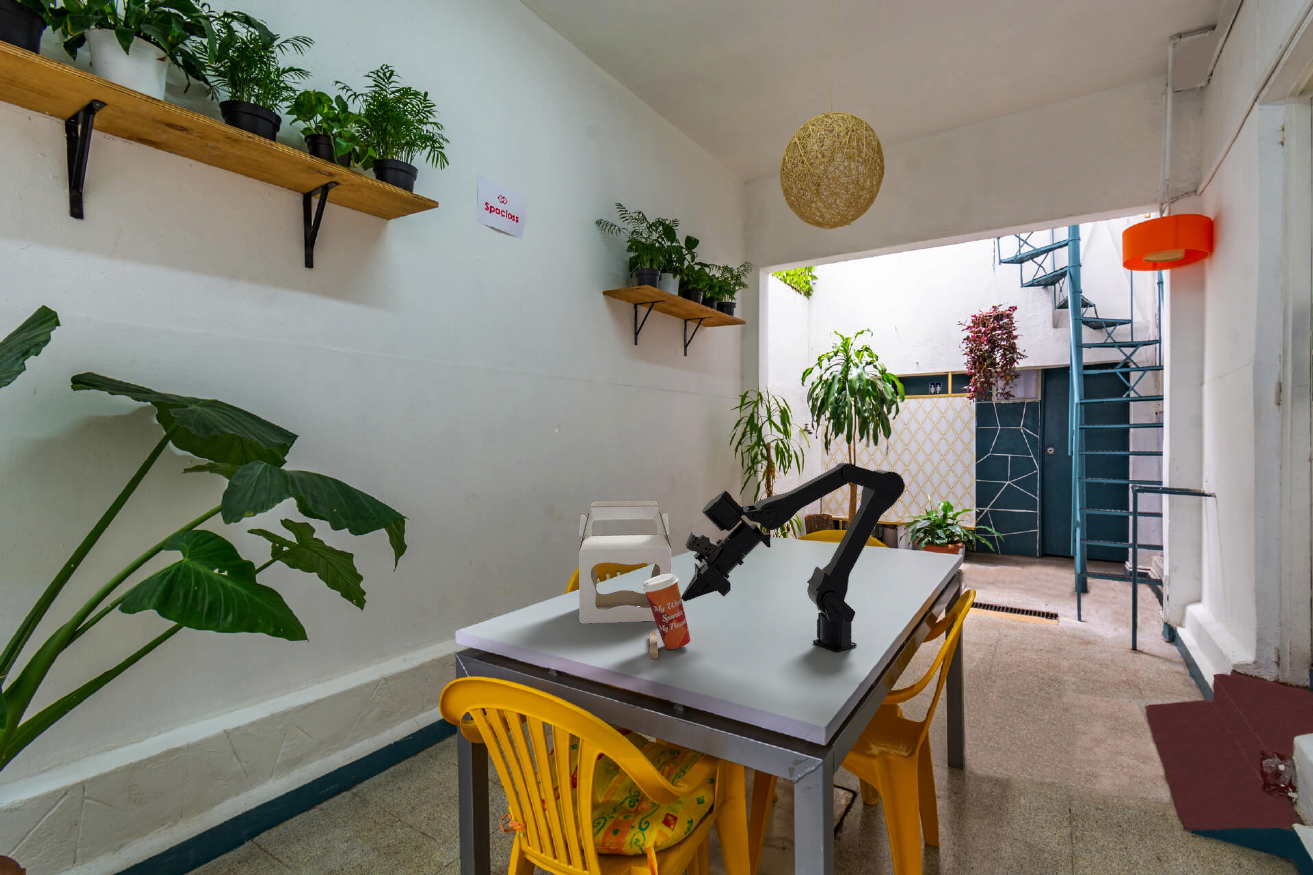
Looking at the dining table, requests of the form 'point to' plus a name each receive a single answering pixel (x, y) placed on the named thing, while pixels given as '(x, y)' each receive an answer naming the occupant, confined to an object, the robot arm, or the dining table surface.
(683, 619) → the paper cup
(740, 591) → the dining table surface
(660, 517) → the gable box
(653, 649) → the oak strip
